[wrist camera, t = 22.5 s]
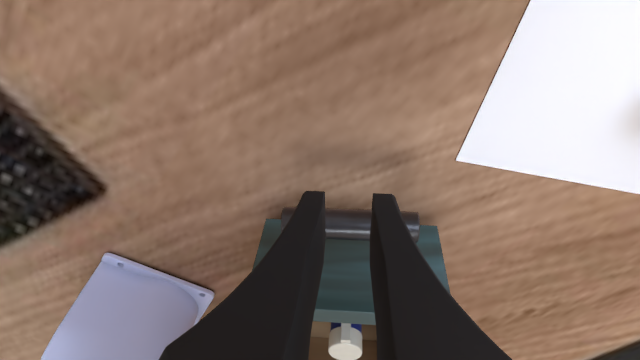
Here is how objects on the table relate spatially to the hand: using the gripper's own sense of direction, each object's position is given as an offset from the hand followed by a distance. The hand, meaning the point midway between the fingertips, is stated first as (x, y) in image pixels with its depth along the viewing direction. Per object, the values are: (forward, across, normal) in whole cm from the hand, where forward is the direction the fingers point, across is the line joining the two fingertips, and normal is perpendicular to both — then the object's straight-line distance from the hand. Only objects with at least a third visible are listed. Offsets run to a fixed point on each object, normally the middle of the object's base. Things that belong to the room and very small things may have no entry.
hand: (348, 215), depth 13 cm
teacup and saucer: (+11, -18, -3) cm, 21 cm away
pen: (+8, 0, +14) cm, 17 cm away
